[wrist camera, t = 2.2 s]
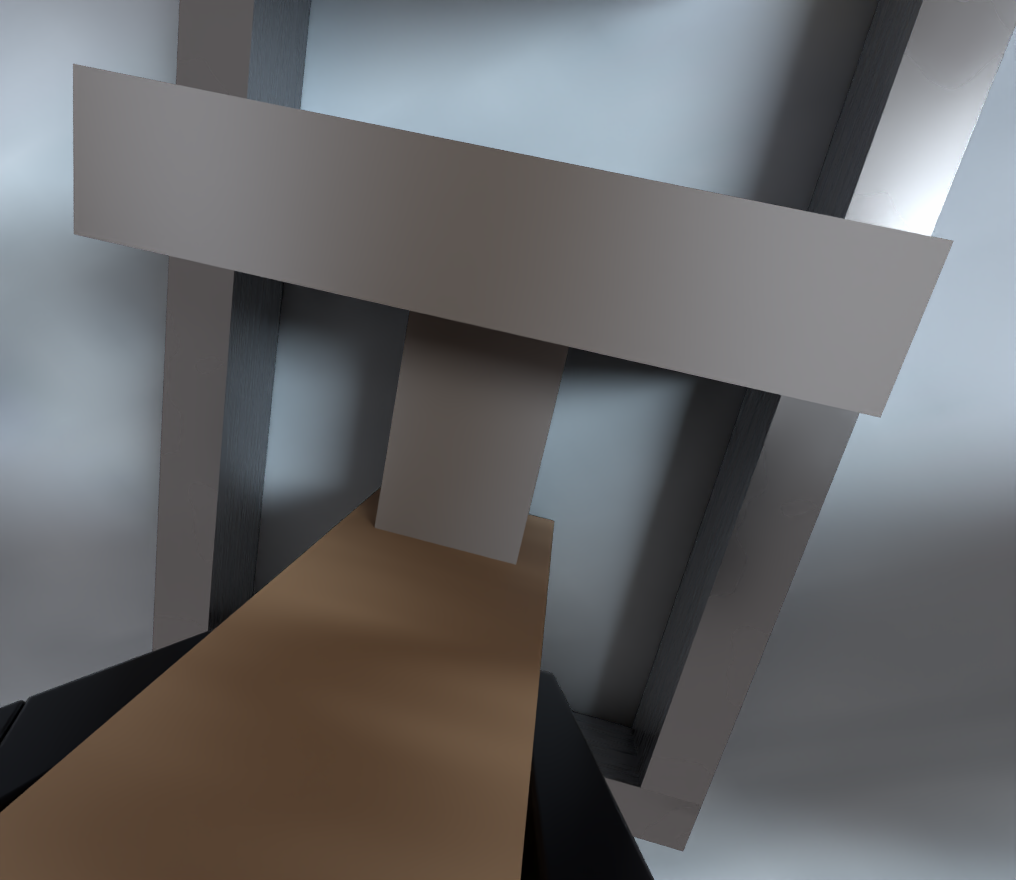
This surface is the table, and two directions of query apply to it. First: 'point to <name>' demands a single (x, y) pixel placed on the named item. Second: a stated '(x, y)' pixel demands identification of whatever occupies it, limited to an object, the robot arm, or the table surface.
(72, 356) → the table surface
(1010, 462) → the table surface
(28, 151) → the table surface
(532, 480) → the press carriage
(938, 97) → the frame
